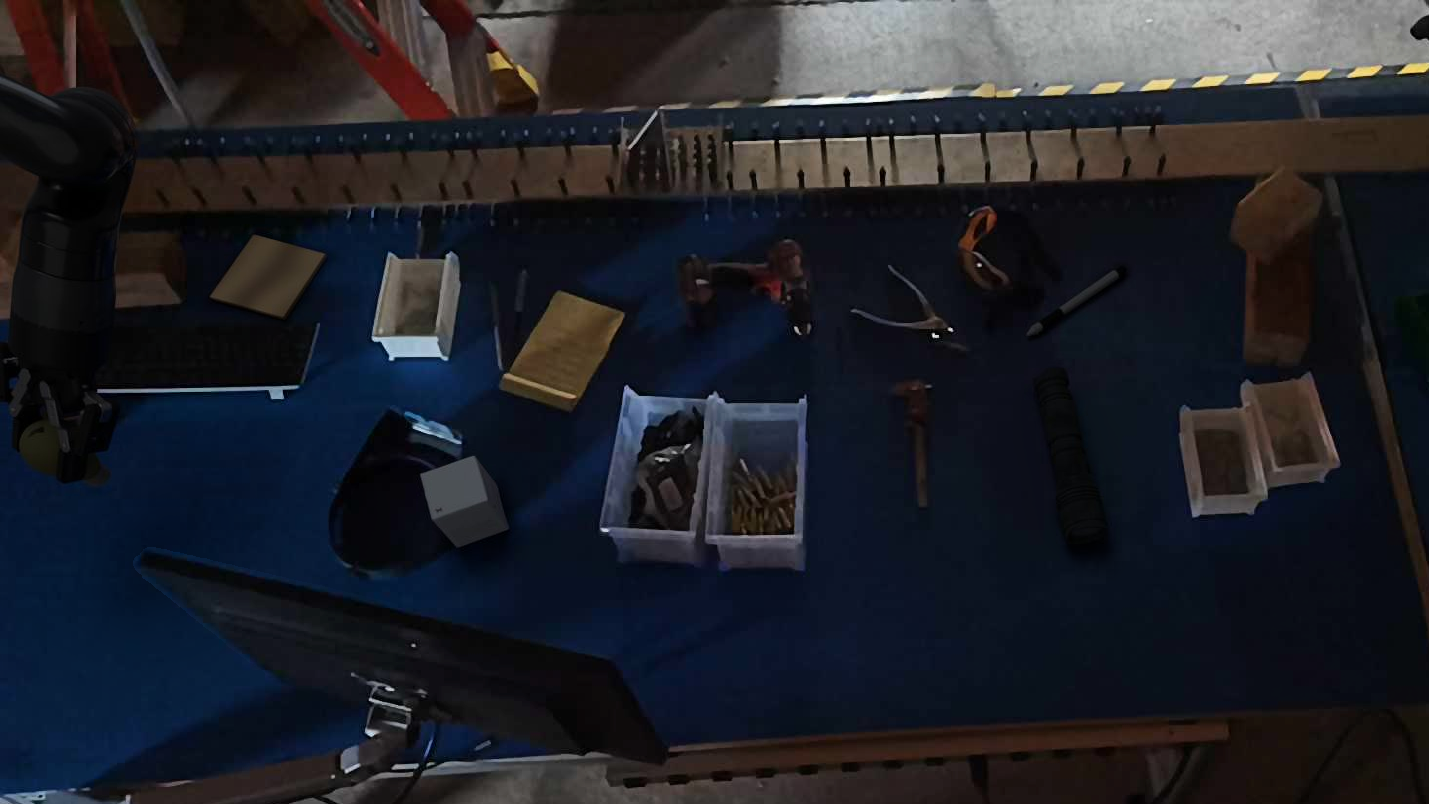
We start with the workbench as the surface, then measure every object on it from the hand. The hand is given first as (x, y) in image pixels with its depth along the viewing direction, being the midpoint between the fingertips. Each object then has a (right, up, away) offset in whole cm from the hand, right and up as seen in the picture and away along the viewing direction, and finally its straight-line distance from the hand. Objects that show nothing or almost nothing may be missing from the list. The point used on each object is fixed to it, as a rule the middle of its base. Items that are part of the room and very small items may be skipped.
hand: (48, 464), depth 111 cm
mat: (+5, +24, +28) cm, 38 cm away
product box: (+36, -5, +15) cm, 39 cm away
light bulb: (+1, -1, +7) cm, 7 cm away
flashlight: (+102, +1, +19) cm, 104 cm away
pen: (+104, +21, +29) cm, 110 cm away
